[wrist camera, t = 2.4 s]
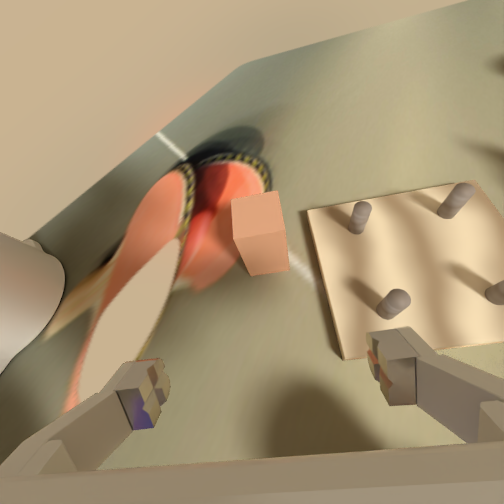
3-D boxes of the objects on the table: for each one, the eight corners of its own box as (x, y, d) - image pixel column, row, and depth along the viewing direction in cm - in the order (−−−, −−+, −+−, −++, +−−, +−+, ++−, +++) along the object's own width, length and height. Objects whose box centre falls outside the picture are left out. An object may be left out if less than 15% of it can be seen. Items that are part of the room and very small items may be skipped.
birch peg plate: (342, 360, 22) (352, 354, 18) (307, 217, 30) (307, 189, 26) (568, 335, 20) (641, 320, 16) (467, 189, 28) (496, 153, 24)
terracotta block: (250, 276, 28) (233, 239, 21) (247, 242, 30) (230, 199, 23) (289, 270, 27) (285, 230, 20) (283, 236, 29) (277, 190, 22)
